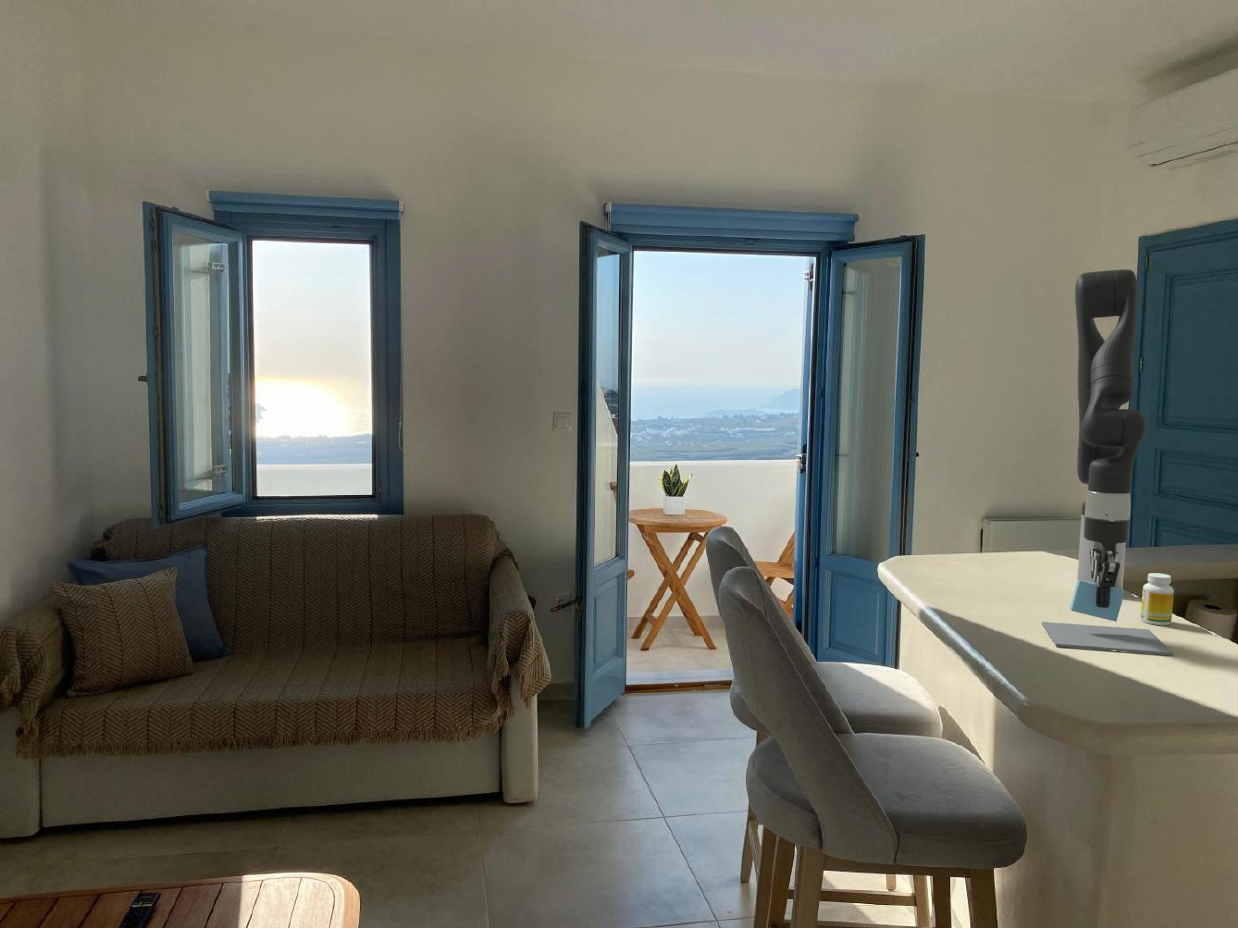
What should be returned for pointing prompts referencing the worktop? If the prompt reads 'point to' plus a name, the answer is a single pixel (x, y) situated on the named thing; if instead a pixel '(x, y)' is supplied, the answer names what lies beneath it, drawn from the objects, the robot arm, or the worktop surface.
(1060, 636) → the mat
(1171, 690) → the worktop surface
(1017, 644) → the worktop surface
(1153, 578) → the supplement bottle
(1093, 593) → the block
